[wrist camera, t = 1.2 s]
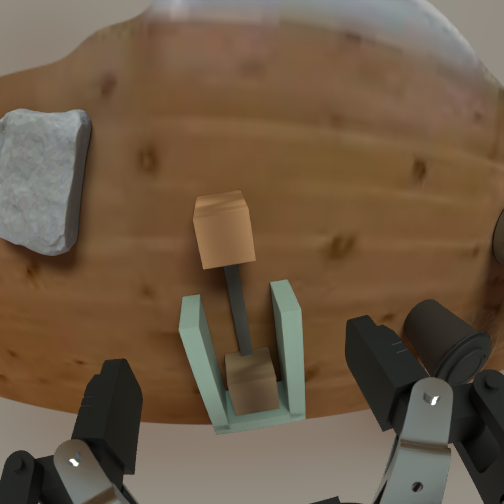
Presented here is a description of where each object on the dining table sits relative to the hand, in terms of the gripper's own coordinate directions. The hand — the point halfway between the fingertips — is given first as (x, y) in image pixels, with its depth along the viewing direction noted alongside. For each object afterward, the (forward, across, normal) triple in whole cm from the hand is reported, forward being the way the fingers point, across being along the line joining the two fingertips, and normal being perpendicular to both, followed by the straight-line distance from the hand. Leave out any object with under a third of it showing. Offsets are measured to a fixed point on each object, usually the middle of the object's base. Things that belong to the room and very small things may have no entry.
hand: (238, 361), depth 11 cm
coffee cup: (+16, -21, +16) cm, 31 cm away
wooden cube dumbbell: (+17, 0, +9) cm, 19 cm away
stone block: (+18, +15, -7) cm, 24 cm away
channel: (+17, 0, +14) cm, 22 cm away
